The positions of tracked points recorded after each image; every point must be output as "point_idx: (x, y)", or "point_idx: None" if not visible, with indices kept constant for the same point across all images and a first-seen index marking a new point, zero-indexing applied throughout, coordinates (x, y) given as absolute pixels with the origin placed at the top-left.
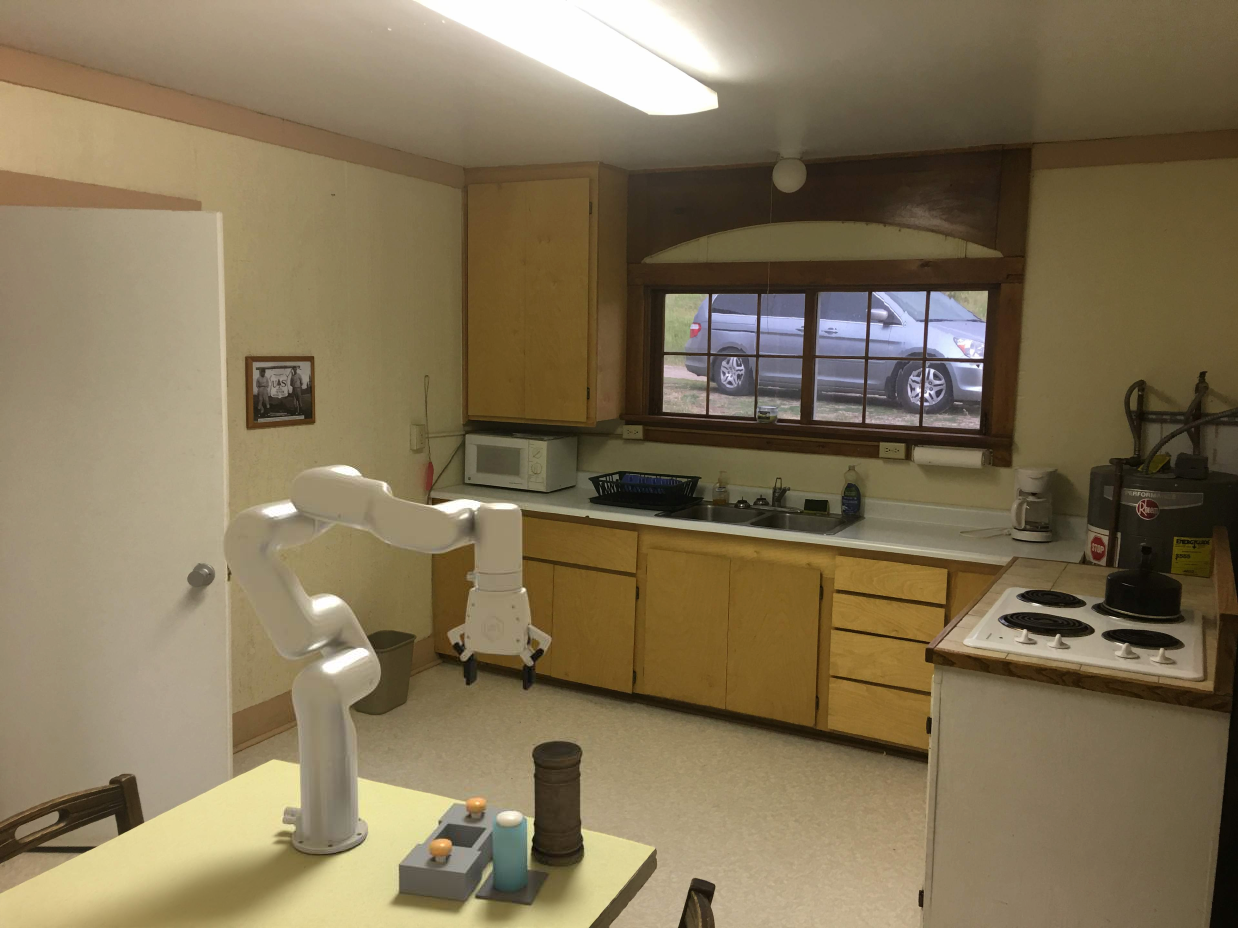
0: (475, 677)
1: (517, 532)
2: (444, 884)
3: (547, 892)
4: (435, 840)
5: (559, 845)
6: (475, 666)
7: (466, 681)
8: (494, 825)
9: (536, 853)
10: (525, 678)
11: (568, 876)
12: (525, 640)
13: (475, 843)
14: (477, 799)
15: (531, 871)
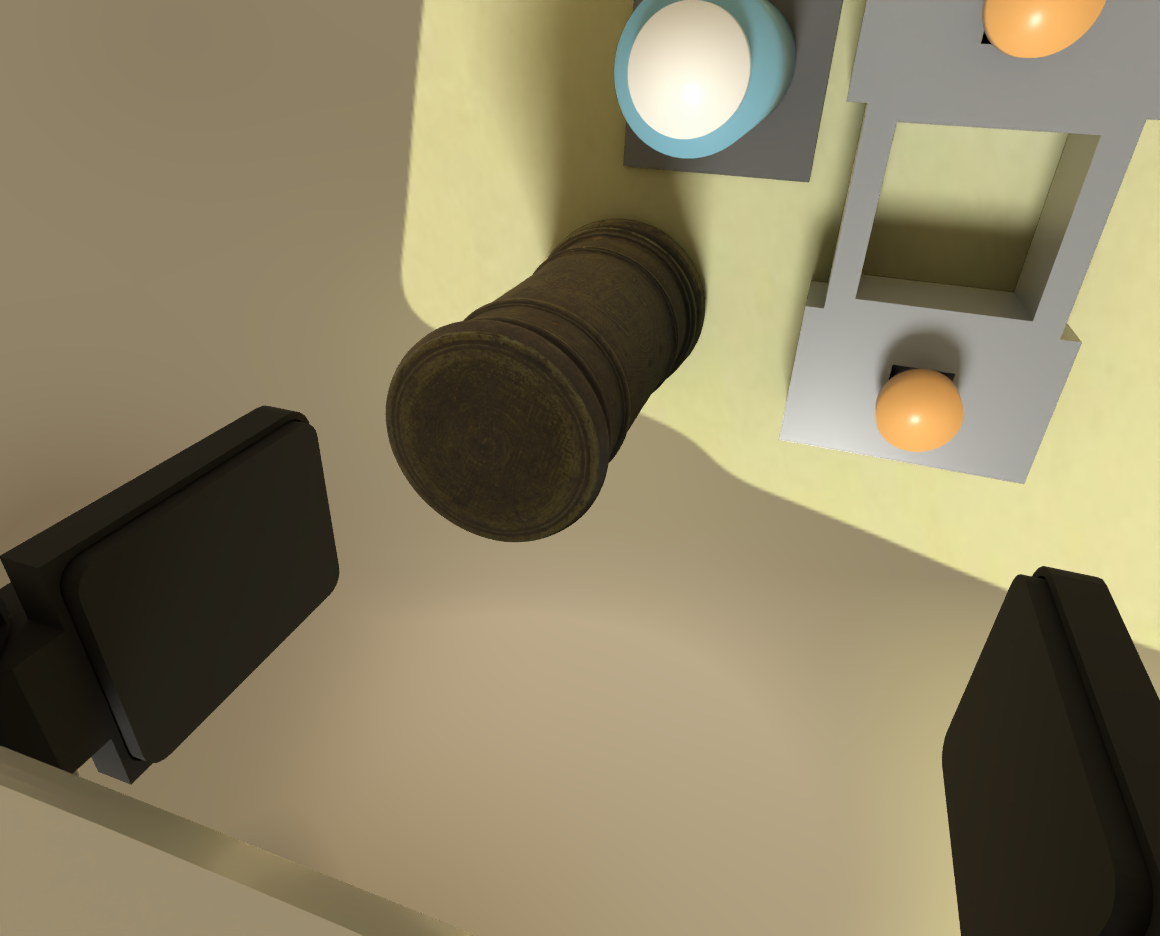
0: (958, 746)
1: None
2: None
3: (604, 45)
4: (1079, 28)
5: (584, 241)
6: (978, 899)
7: (1099, 604)
8: (756, 10)
9: (675, 252)
10: (174, 461)
11: (564, 162)
12: None
13: (883, 164)
14: (915, 438)
15: (677, 160)
